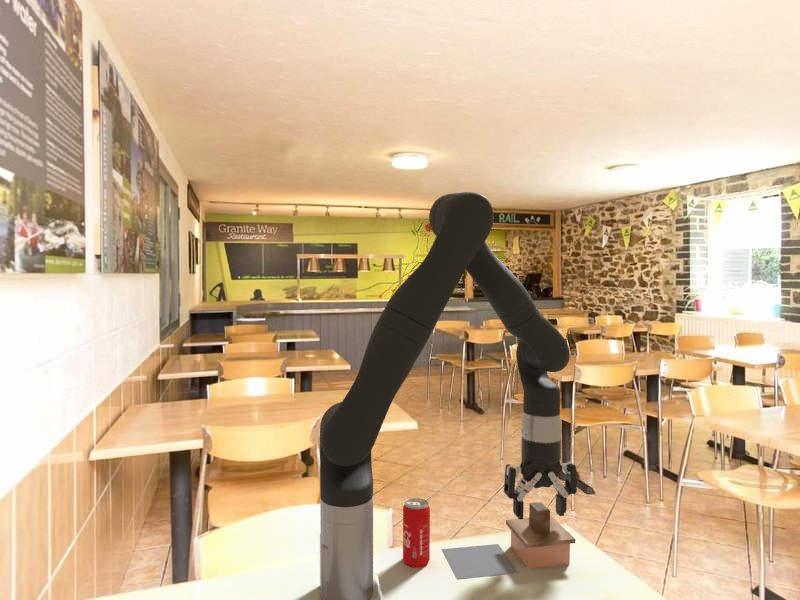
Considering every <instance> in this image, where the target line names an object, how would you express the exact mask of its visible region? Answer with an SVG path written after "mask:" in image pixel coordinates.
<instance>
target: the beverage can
mask: <svg viewBox="0 0 800 600" xmlns="http://www.w3.org/2000/svg"><path fill="white" fill-rule="evenodd" d="M403 503H404V504H403V507H402V560H403V562H404V564H405V565H406V566H408V567H410V568H417V569H419V568H423V567H426V566H427V565H428V564H429V561H430V560H431V558H430V557H431V556H430V555H431V552H430V551H431V550H430V549H431V548H430V547H431V536H430V535H431V533H430V532H431V506H430V503H429V501H427V500H426V499H423V498H418V497H417V498H415V497H414V498H409V499H407V500H405V501H404V502H403Z"/></svg>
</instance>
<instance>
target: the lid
mask: <svg viewBox="0 0 800 600" xmlns="http://www.w3.org/2000/svg"><path fill="white" fill-rule="evenodd" d="M528 504H529V506H528V507H529V508H528V509H529V512H528V513H529V517H523V519H518V518H514V519H513V518H512V519H505V524H506V526H507V527H508V528H509V529H510V532H511V531H512V532H513V533H514V534H515V535H516V537H517V538H518V539H519V540H520V541H521V543H522V544H523V545H524V546H525V547H526V548H530V547H541V546H551V545H561V544H570V545H572V544H576V538H575V537H574V536H573V535H572V534H571V533H570V532H568V530H566V529H565V527H563V526H562V525H561V524H560V523H559V522H558V521H557V520H556V519H555V518H554V517H553V516H552V515H551V509H549V508H548V507H547V506H546V505H545V504H544V503H543V502H540V501H539V502H537V501H536V502H530V503H528Z"/></svg>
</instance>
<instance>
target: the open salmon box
mask: <svg viewBox="0 0 800 600" xmlns="http://www.w3.org/2000/svg"><path fill="white" fill-rule="evenodd" d="M510 547H511V549H512V550H513V551H514V552H515V554H516V555H517V556H518V557H519V559H520V560H521V561H522V563H523V564H524V565H525V567H526V568H527V569H534V568H535V569H536V568H545V567H547V568H548V567H555V566H565V565H570V563H571V562H570V559H571V558H570V557H571V556H570V555H571V544H561V545H551V546H541V547H530V548H526V547H525V546H524V545H523V544H522V543H521V541H520V540H519V539H518V538H517V537H516V535H515V534H514V533H513V532H512V531H511V530H510Z"/></svg>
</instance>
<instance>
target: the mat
mask: <svg viewBox="0 0 800 600" xmlns="http://www.w3.org/2000/svg"><path fill="white" fill-rule="evenodd" d="M441 552H442V553H443V554H444V557H445V558H446V560H447V561H446V562H448V564H449V567H450V568H451V570H452V572H453V574H454V576H455V578H456V580H466V579H473V578H483V577H485V578H486V577H495V576H503V575H506V576H507V575H516V574H520V571H519V570H518V569H517V568H516V566H515V565H514V564H513V562H512V561H511V559H510V558H509V557H508V556H507V554H506V552H505V551H504V549H502V547H501V546H500V545H499V544H498V543H494V544H484V545H483V544H482V545H474V546H473V545H472V546H464V547H463V546H460V547H451V548H450V547H449V548H441Z"/></svg>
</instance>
